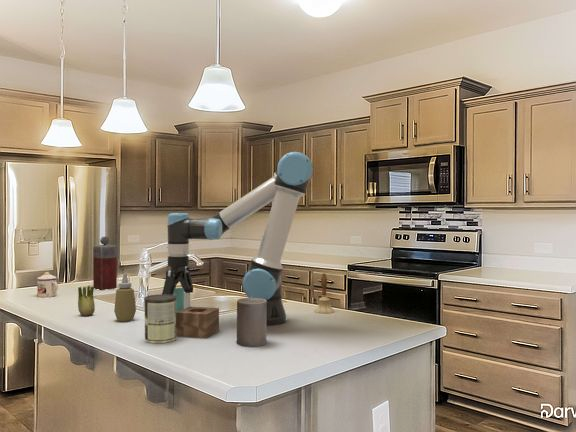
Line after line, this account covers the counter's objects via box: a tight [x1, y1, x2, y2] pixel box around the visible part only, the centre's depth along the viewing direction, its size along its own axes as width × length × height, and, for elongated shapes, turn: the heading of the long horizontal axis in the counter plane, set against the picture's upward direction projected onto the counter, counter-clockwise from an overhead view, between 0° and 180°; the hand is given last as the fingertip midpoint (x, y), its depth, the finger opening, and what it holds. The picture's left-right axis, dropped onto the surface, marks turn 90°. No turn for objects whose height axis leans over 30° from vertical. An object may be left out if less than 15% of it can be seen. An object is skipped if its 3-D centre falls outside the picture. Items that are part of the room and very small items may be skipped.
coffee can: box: [143, 293, 177, 344], centre depth 170 cm, size 10×10×14 cm
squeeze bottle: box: [113, 273, 137, 322], centre depth 199 cm, size 8×8×18 cm
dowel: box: [173, 287, 185, 312], centre depth 188 cm, size 4×4×14 cm
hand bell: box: [314, 273, 335, 314], centre depth 217 cm, size 8×8×16 cm
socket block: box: [176, 306, 220, 339], centre depth 179 cm, size 11×11×8 cm
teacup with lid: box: [36, 271, 59, 298], centre depth 254 cm, size 12×9×12 cm
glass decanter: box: [92, 236, 118, 291], centre depth 279 cm, size 9×11×28 cm
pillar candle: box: [235, 296, 267, 348], centre depth 166 cm, size 10×10×15 cm
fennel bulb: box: [77, 285, 96, 317], centre depth 208 cm, size 6×5×12 cm
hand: (178, 313), depth 188 cm, fingers open, 13 cm apart
